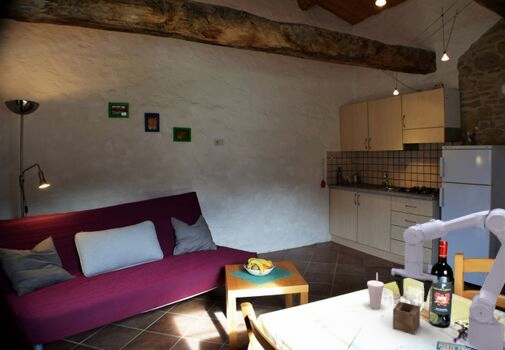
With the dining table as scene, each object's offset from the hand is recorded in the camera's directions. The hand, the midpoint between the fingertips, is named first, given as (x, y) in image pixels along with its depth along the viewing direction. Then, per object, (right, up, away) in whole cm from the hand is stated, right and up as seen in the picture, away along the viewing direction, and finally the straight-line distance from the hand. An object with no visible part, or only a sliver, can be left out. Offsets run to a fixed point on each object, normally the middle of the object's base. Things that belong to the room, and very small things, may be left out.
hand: (413, 298), depth 119 cm
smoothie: (-7, -10, +16) cm, 20 cm away
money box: (-2, -10, 0) cm, 11 cm away
